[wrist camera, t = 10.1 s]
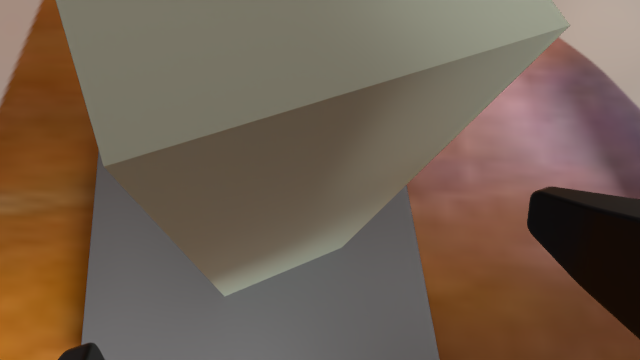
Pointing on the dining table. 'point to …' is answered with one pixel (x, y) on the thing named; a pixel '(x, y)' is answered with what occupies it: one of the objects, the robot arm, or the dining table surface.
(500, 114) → the dining table surface
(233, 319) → the plinth
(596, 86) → the dining table surface
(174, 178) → the sage block
